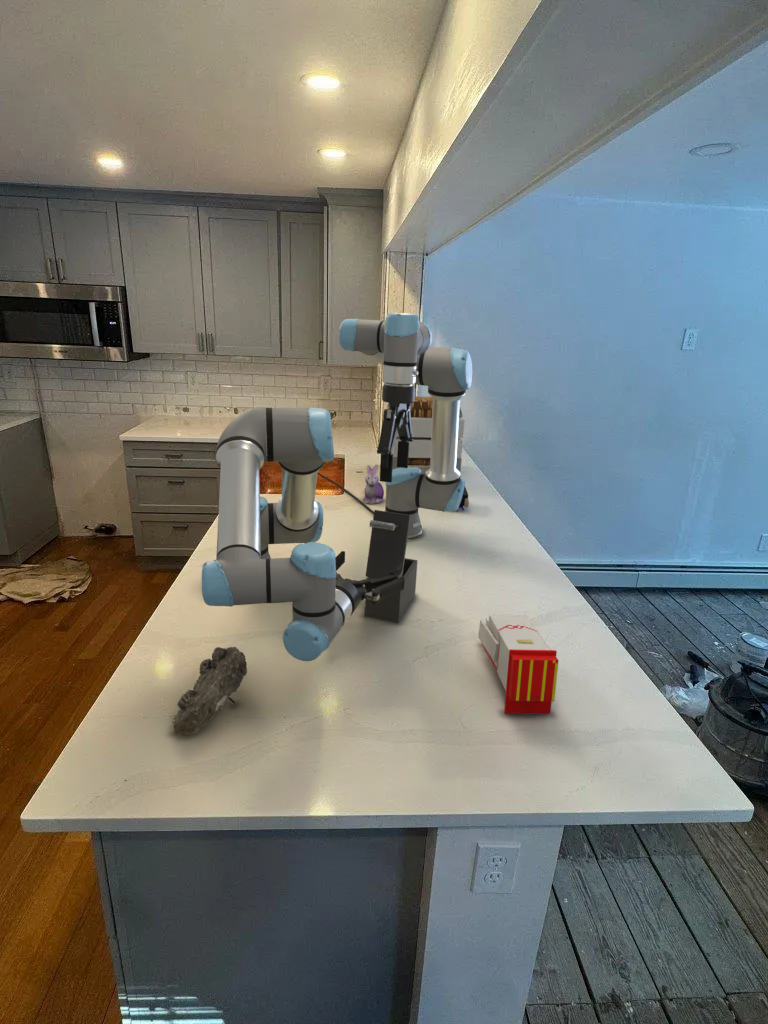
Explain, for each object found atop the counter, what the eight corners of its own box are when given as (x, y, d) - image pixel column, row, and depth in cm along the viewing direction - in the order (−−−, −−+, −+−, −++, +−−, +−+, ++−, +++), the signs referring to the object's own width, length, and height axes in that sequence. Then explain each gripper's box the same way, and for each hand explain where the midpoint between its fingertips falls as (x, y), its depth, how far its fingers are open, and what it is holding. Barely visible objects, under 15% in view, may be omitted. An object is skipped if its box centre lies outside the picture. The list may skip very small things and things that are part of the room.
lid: (375, 509, 142) (364, 510, 133) (410, 515, 139) (401, 515, 131) (366, 576, 143) (355, 580, 134) (401, 582, 140) (391, 587, 132)
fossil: (197, 648, 121) (247, 617, 116) (228, 678, 124) (278, 648, 119) (149, 728, 102) (207, 694, 97) (187, 761, 105) (245, 730, 100)
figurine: (368, 505, 226) (369, 469, 221) (357, 498, 235) (358, 463, 230) (389, 503, 230) (391, 467, 225) (378, 495, 239) (379, 461, 234)
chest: (384, 589, 160) (385, 554, 157) (415, 595, 158) (417, 560, 154) (364, 616, 146) (366, 578, 142) (398, 623, 143) (400, 585, 140)
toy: (524, 600, 137) (567, 656, 108) (520, 651, 140) (560, 720, 111) (474, 599, 137) (504, 655, 107) (471, 650, 140) (498, 719, 110)
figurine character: (468, 516, 224) (463, 500, 237) (471, 498, 221) (465, 483, 234) (452, 515, 224) (447, 499, 237) (453, 498, 220) (449, 482, 234)
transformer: (382, 463, 289) (386, 382, 275) (445, 464, 293) (451, 384, 279) (390, 482, 257) (394, 392, 243) (460, 483, 261) (468, 394, 247)
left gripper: (277, 609, 114) (320, 567, 133) (396, 634, 107) (423, 586, 126) (276, 575, 112) (320, 537, 131) (398, 599, 105) (425, 555, 124)
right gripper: (399, 392, 117) (394, 490, 124) (427, 380, 139) (422, 463, 147) (364, 389, 119) (361, 485, 126) (398, 377, 142) (394, 460, 149)
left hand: (371, 561), depth 129 cm, fingers open, 13 cm apart
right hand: (394, 474), depth 136 cm, fingers open, 13 cm apart
